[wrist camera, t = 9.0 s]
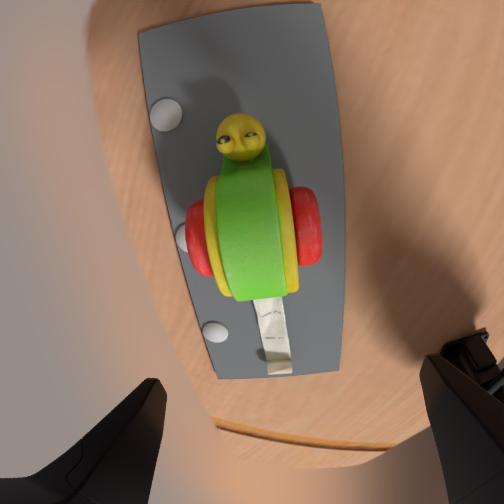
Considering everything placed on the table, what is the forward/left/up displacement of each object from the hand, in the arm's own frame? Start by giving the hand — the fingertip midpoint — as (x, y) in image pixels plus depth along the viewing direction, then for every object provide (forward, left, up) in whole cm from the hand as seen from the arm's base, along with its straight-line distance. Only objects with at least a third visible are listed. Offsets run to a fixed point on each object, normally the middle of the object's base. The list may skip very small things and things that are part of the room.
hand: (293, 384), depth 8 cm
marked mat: (+1, +1, -12) cm, 12 cm away
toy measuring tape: (-2, +1, -11) cm, 11 cm away
